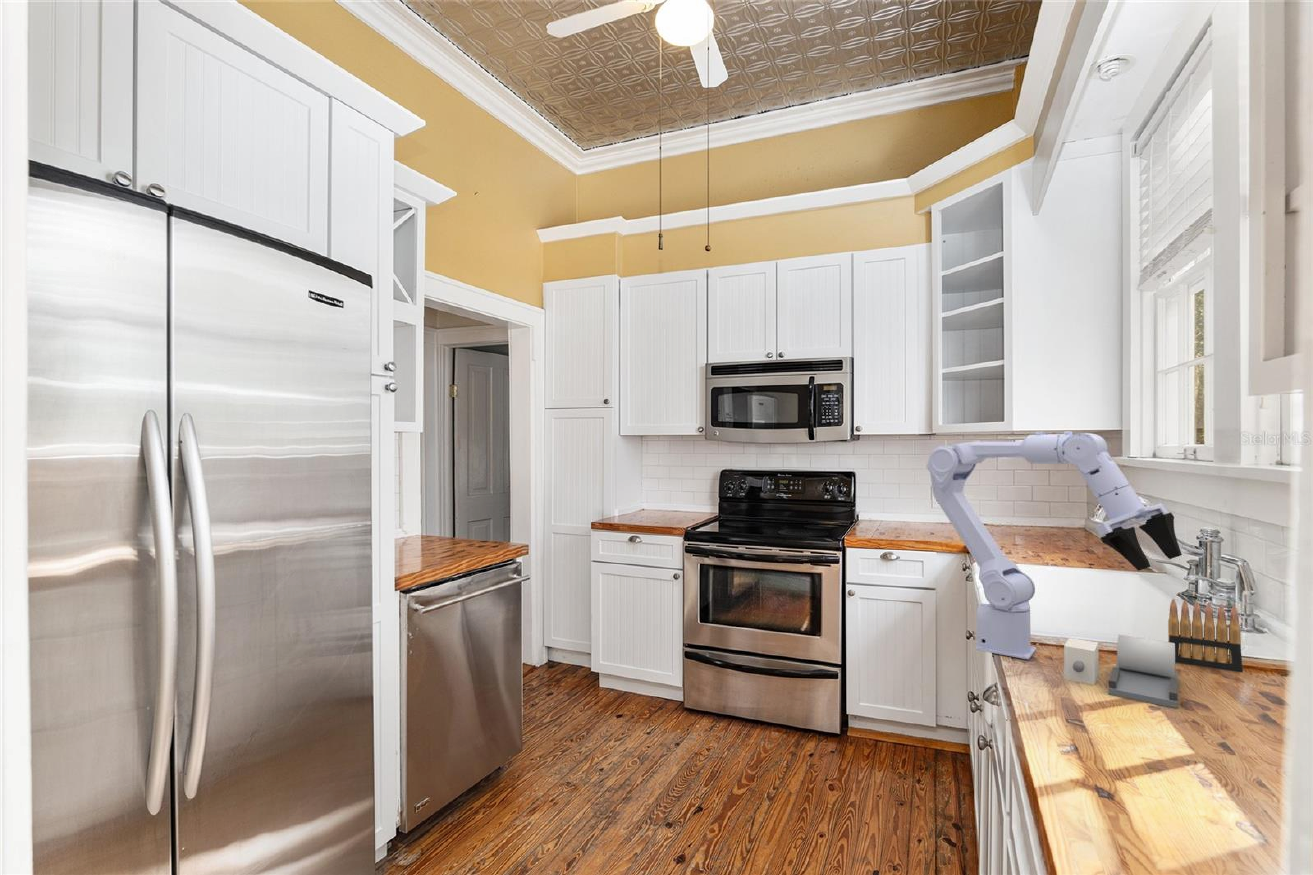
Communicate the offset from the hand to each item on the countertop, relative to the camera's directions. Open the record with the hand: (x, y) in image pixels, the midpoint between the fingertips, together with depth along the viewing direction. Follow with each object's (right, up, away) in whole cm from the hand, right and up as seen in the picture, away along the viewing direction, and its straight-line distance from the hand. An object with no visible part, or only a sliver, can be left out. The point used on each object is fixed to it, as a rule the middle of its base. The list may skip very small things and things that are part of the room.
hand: (1160, 563), depth 110 cm
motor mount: (-2, -22, +1) cm, 22 cm away
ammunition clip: (+17, -22, +11) cm, 30 cm away
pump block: (-10, -22, +5) cm, 25 cm away
